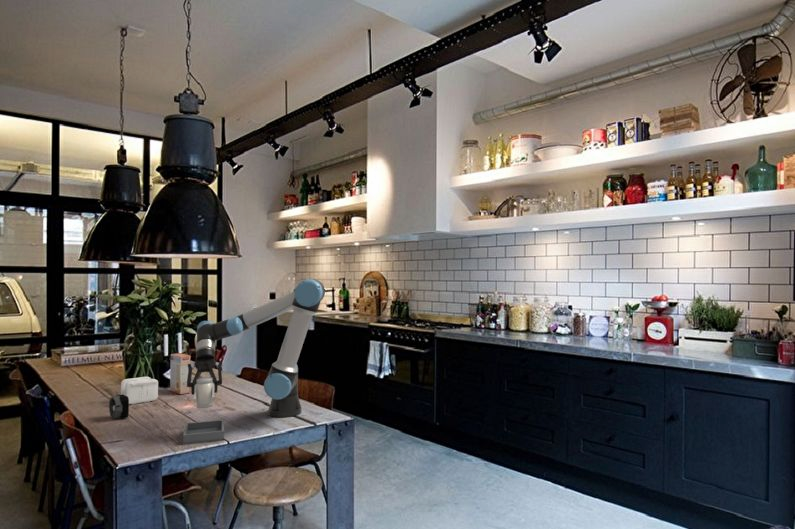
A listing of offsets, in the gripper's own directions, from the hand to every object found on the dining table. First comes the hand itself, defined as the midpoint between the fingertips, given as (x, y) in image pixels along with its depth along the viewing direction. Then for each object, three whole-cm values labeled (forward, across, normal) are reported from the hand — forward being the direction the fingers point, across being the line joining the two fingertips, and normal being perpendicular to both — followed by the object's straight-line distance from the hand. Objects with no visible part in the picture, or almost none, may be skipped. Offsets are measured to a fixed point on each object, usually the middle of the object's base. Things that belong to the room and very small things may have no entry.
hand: (204, 399), depth 194 cm
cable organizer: (-42, +34, -64) cm, 83 cm away
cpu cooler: (-21, +38, -42) cm, 60 cm away
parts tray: (+8, 0, -13) cm, 16 cm away
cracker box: (-54, +15, -75) cm, 93 cm away
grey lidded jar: (0, 0, -5) cm, 5 cm away
